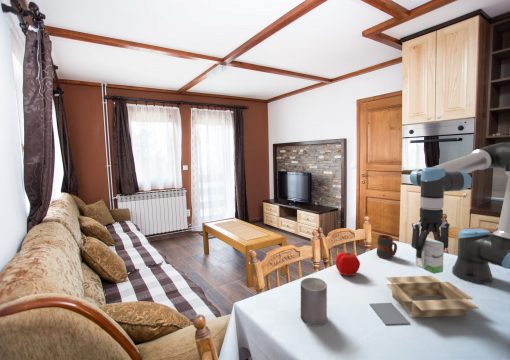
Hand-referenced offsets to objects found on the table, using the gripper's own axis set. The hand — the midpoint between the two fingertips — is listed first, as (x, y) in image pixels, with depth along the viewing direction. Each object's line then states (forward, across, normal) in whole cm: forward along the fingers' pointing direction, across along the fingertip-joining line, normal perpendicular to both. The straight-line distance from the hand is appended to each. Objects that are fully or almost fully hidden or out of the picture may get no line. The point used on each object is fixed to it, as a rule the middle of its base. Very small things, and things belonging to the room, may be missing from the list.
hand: (428, 265), depth 107 cm
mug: (+17, -9, -48) cm, 52 cm away
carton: (+17, 0, 0) cm, 17 cm away
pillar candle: (+17, +47, +5) cm, 50 cm away
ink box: (+2, 0, 0) cm, 2 cm away
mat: (+17, +18, +4) cm, 25 cm away
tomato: (+17, +21, -30) cm, 40 cm away
